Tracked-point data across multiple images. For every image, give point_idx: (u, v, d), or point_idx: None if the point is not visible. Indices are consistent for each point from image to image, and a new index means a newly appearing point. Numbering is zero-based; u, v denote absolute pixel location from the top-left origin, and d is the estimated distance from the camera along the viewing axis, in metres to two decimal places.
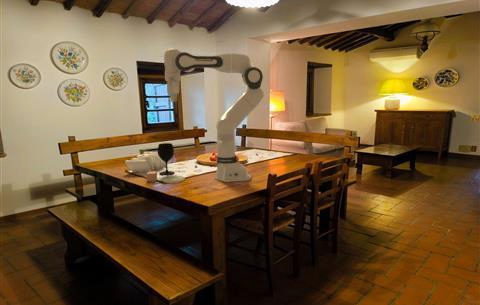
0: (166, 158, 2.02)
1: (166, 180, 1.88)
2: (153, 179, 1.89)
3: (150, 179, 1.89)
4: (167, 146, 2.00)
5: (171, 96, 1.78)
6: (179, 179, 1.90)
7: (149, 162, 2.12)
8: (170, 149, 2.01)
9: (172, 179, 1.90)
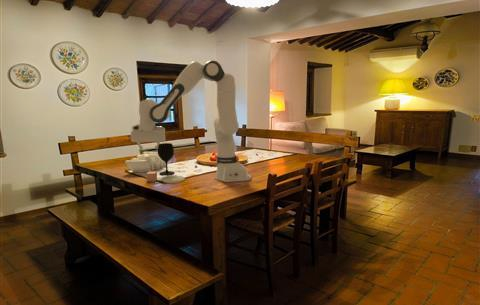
0: (166, 158, 2.02)
1: (166, 180, 1.88)
2: (153, 179, 1.89)
3: (150, 179, 1.89)
4: (167, 146, 2.00)
5: (158, 144, 1.88)
6: (179, 179, 1.90)
7: (149, 162, 2.12)
8: (170, 149, 2.01)
9: (172, 179, 1.90)
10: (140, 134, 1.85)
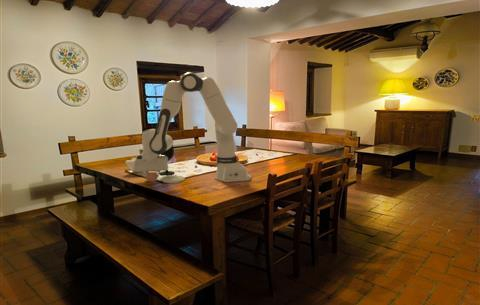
0: None
1: (166, 180, 1.88)
2: (153, 179, 1.89)
3: (150, 178, 1.89)
4: None
5: (159, 172, 1.91)
6: (179, 179, 1.90)
7: None
8: (170, 149, 2.01)
9: (172, 179, 1.90)
10: (143, 163, 1.88)
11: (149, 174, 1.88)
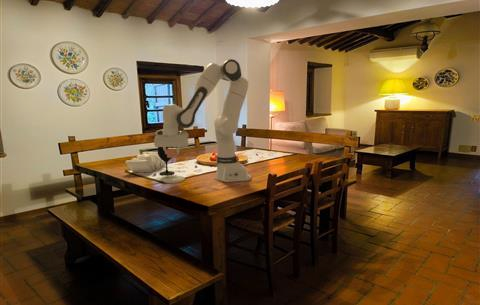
0: (166, 158, 2.02)
1: (166, 180, 1.88)
2: (173, 155, 1.87)
3: (170, 155, 1.87)
4: None
5: None
6: (179, 179, 1.90)
7: (150, 162, 2.12)
8: None
9: (172, 179, 1.90)
10: (163, 139, 1.86)
11: (169, 150, 1.86)
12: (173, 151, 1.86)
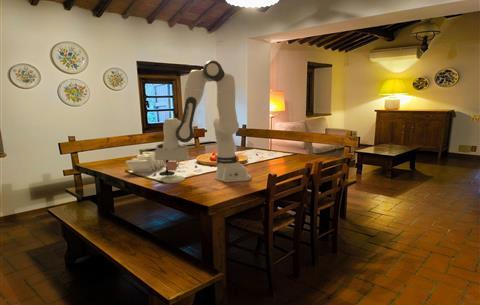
0: None
1: (166, 180, 1.88)
2: (173, 168, 1.88)
3: (171, 168, 1.88)
4: None
5: (179, 162, 1.90)
6: (179, 179, 1.90)
7: (150, 162, 2.12)
8: None
9: (172, 179, 1.90)
10: (164, 152, 1.87)
11: (169, 163, 1.88)
12: (173, 164, 1.88)
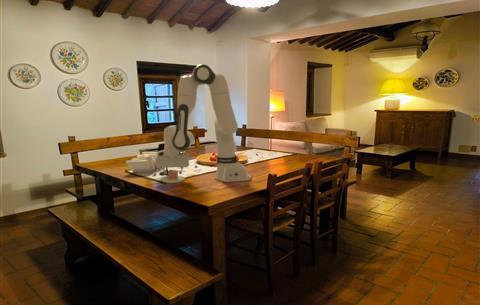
0: None
1: (166, 180, 1.88)
2: (174, 177, 1.89)
3: (172, 177, 1.89)
4: None
5: (182, 169, 1.91)
6: (179, 179, 1.90)
7: (150, 162, 2.12)
8: None
9: None
10: (165, 160, 1.88)
11: (171, 172, 1.89)
12: (174, 173, 1.89)
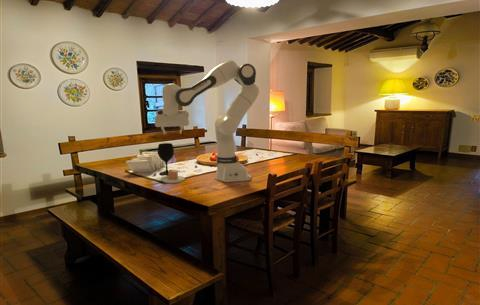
0: (166, 158, 2.02)
1: (166, 180, 1.88)
2: (174, 177, 1.89)
3: (172, 177, 1.89)
4: (167, 146, 2.00)
5: (182, 128, 1.89)
6: (179, 179, 1.90)
7: (150, 162, 2.12)
8: (170, 149, 2.01)
9: None
10: (164, 119, 1.86)
11: (171, 172, 1.89)
12: (174, 173, 1.89)
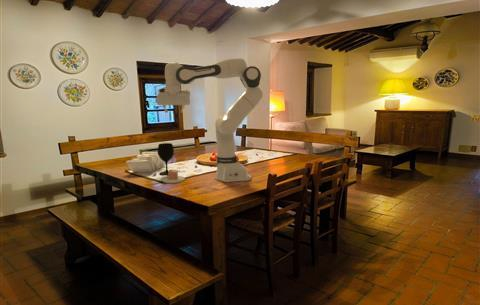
0: (166, 158, 2.02)
1: (166, 180, 1.88)
2: (174, 177, 1.89)
3: (172, 177, 1.89)
4: (167, 146, 2.00)
5: (183, 107, 1.92)
6: (179, 179, 1.90)
7: (150, 162, 2.12)
8: (170, 149, 2.01)
9: None
10: (166, 97, 1.89)
11: (171, 172, 1.89)
12: (174, 173, 1.89)
